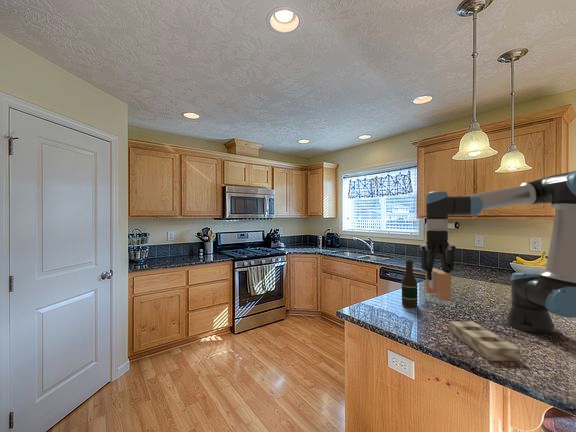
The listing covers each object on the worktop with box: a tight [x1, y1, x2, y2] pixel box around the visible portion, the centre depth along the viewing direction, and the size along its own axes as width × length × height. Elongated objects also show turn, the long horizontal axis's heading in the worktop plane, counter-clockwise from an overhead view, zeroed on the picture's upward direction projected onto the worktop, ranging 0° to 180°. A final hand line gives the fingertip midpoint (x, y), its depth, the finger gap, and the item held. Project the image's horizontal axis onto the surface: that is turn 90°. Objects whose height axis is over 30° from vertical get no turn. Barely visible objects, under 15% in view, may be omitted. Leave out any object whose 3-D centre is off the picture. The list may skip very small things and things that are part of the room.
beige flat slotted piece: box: [448, 321, 521, 362], centre depth 95 cm, size 10×22×4 cm, turn 178°
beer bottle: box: [401, 259, 419, 309], centre depth 138 cm, size 8×8×24 cm
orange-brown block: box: [424, 267, 452, 301], centre depth 104 cm, size 12×4×10 cm, turn 177°
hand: (437, 287), depth 104 cm, fingers closed on orange-brown block, 4 cm apart
